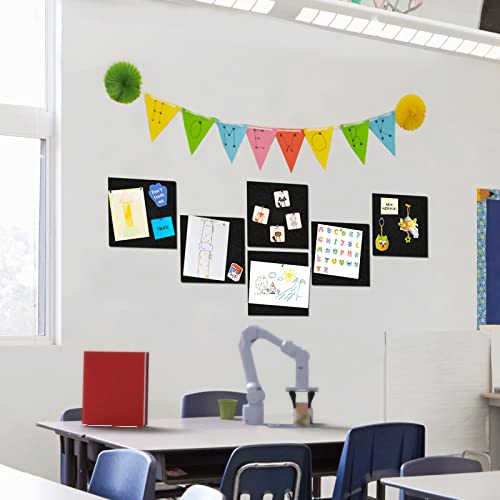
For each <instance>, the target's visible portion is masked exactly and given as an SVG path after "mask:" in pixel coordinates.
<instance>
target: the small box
mask: <svg viewBox="0 0 500 500" xmlns="http://www.w3.org/2000/svg"><path fill="white" fill-rule="evenodd" d="M294 414H296V409H294V408H293V414H292V415H293V417H294ZM308 414H309V415H310V424H314V410H313V405H312V404H311V407H310V409H308Z"/></svg>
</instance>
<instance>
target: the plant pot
mask: <svg viewBox="0 0 500 500" xmlns="http://www.w3.org/2000/svg"><path fill="white" fill-rule="evenodd" d="M217 401H218V405H219V412H220V419H221V420H234V419H235V413H236V407H237V403H238V402H239V400H238V399H217Z"/></svg>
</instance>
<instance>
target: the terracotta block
mask: <svg viewBox="0 0 500 500" xmlns="http://www.w3.org/2000/svg"><path fill="white" fill-rule="evenodd" d="M296 414H298V415H308V402H305V401H299V402H298V401H296Z"/></svg>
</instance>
